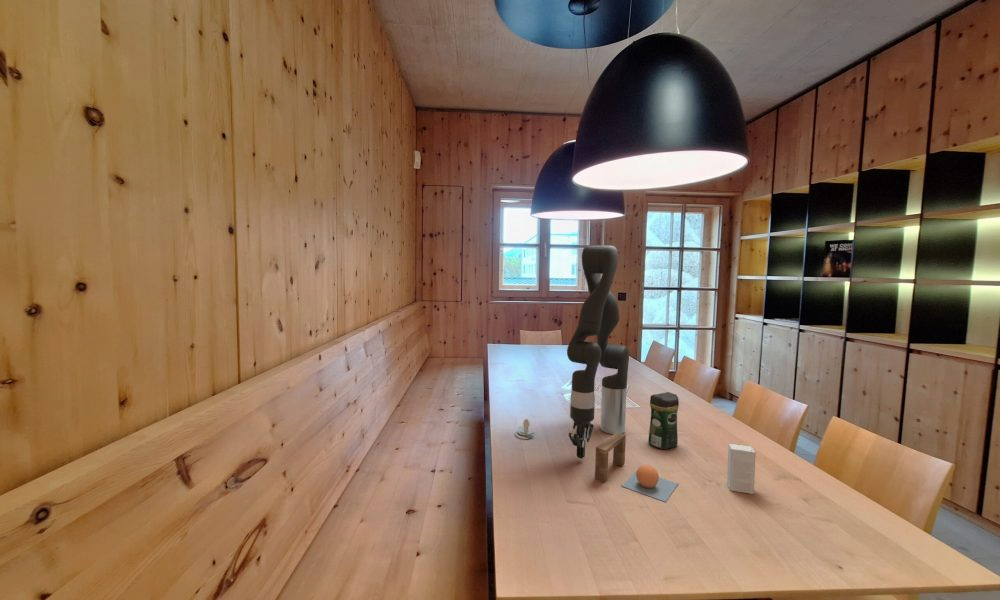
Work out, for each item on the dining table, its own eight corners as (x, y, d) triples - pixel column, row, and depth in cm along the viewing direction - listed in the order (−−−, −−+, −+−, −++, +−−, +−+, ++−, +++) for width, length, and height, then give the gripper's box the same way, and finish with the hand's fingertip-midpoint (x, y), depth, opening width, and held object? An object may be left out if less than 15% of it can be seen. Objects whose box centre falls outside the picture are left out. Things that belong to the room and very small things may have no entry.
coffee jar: (662, 438, 147) (665, 388, 146) (681, 446, 140) (683, 394, 139) (643, 442, 143) (646, 392, 142) (662, 451, 136) (664, 398, 135)
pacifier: (524, 442, 142) (536, 437, 146) (524, 425, 142) (536, 421, 145) (511, 435, 148) (523, 431, 152) (511, 418, 148) (523, 415, 151)
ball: (639, 460, 117) (659, 462, 113) (643, 480, 117) (664, 483, 113) (630, 469, 113) (651, 471, 109) (635, 489, 113) (655, 493, 109)
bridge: (594, 479, 116) (595, 447, 116) (615, 461, 128) (616, 432, 127) (604, 483, 114) (605, 450, 114) (624, 464, 126) (625, 434, 125)
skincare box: (749, 487, 114) (752, 446, 113) (753, 494, 110) (756, 452, 109) (725, 483, 116) (728, 443, 115) (729, 490, 112) (731, 449, 111)
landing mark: (636, 470, 122) (637, 470, 122) (678, 484, 115) (678, 483, 115) (621, 486, 113) (621, 485, 113) (665, 502, 105) (665, 501, 105)
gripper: (583, 412, 119) (581, 468, 120) (602, 401, 129) (600, 453, 130) (561, 406, 123) (559, 460, 125) (581, 396, 134) (579, 447, 135)
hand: (580, 457), depth 127 cm, fingers closed
